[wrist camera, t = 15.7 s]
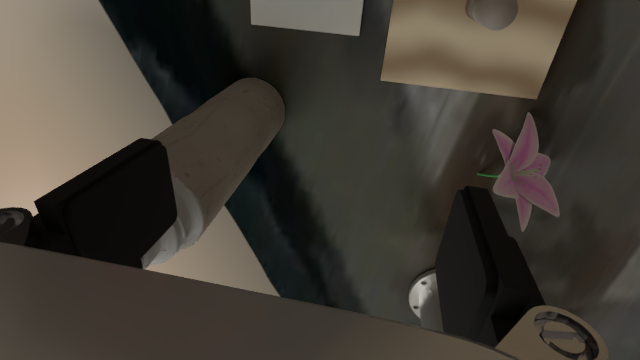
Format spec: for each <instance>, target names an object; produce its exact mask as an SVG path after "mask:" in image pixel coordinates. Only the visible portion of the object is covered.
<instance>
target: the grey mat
mask: <svg viewBox="0 0 640 360" xmlns="http://www.w3.org/2000/svg"><path fill="white" fill-rule="evenodd" d="M363 2H364V0H251V24H252V25H261V26H271V27H280V28H289V29H299V30H308V31H317V32H326V33H336V34H345V35H354V36H359V35H360V26H361V18H362V10H363Z"/></svg>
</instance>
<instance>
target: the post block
mask: <svg viewBox="0 0 640 360" xmlns="http://www.w3.org/2000/svg"><path fill="white" fill-rule="evenodd" d="M576 1H577V0H393V6H392V12H391V18H390V25H389V31H388V37H387V43H386V49H385V55H384V61H383V67H382V74H381V80H382V81H390V82H398V83H406V84H414V85H423V86H431V87H439V88H447V89H455V90H464V91H472V92H480V93H488V94H496V95H505V96H513V97H521V98H529V99H537V97H538V94H539V92H540V90H541V87H542V85H543V82H544V80H545V77H546V75H547V72H548V70H549V67H550V65H551V63H552V60H553V58H554V55H555V53H556V50H557V48H558V45H559V43H560V41H561V38H562V36H563V33H564V31H565V28H566V26H567V23H568V21H569V18H570V16H571V14H572V11H573V9H574V6H575V4H576Z"/></svg>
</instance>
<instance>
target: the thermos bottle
mask: <svg viewBox="0 0 640 360" xmlns="http://www.w3.org/2000/svg"><path fill="white" fill-rule="evenodd" d="M284 120H285V106H284V103H283V100H282V98H281V96H280V94H279V93H278V92H277V90H276V89H275V88H274V87H273V86H271V85H270V84H269V83H267V82H265V81H263V80H261V79H257V78H244V79H241V80H238V81H236V82H235V83H233V84H232V85H230V86H229V87H228V88H226V89H225V90H223V91H222V92H220V93H219V94H217V95H216V96H214V97H213V98H211V99H210V100H208V101H207V102H206V103H204V104H203V105H202V106H200V107H199V108H198V109H197V110H195V111H194V112H193V113H192V114H190V115H188V116H186V117H184V118H182V119H180V120H179V121H177V122H176V123H175V124H173V125H172V126H170V127H169V128H167V129H166V130H164V131H163V132H161V133H160V134H158V135H157V136H155V137H154V138H152V139H151V140H158V141H160V142H161V143H162V145H163V146H165V147H166V150H167V154H168V160H169V166H170V172H171V178H172V183H173V189H174V195H175V201H176V207H177V219H176V221H175V223H174V224H173V225H172V226H171V227H170V228H169V229H168V230H167V231H166V232H165V234H164V235H163V236H162V237H161V238H160V239H159V240H158V241H157V242H156V243H155V244H154V245H153V246H152V247H151V248H150V250H149V251H148V252H147V253H146V254H145V255H144V256H143V257H142V258H141V259H140V260H139V261H138V262H137V263H136V264H135V266H134V268H139V269H144V270H145V269H146V268H147V267H148V266H149V265H154V264H160V263H164V262H166V261H167V260H169V259H170V258H171V257H172V256H173V255H175V253H177V252H179V251H180V250H181V249H185V248H188V247H190V246H191V245H193V244H194V243H195V242H196V241H197V240H198V239H199V238H200V237H201V235H202V234H203V232H204V231H205V230H206V228H207V227H208V226H209V225H210V223H211V222H212V220H213V219H214V218H215V216H216V215H217V214H218V212H219V211H220V210H221V208H222V207H223V206H224V204H225V203H226V202H227V200H228V199H229V197H230V196H231V195H232V193H233V192H234V191H235V189H236V188H237V187H238V185H239V184H240V183H241V181H242V180H243V179H244V177H245V176H246V174H247V173H248V172H249V170H250V169H251V168H252V166H253V165H254V163H255V161H256V160H257V158H258V157H259V156H260V154H261V153H262V152H263V151H264V150H265V149H266V147H267V146H268V145H269V143H270V142H271V141H272V139H273V138H274V137H275V135H276V134H277V133H278V131H279V130H280V128H281V127H282V125H283V122H284Z"/></svg>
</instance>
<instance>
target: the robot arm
mask: <svg viewBox="0 0 640 360" xmlns="http://www.w3.org/2000/svg"><path fill="white" fill-rule="evenodd" d="M34 203H35V205H36V208H37V210H38V212H39V213H38V214H37V215H35V216H34V217H33V216H32V214H31V212H30V211H28V210H27V209H24V208H15V207H11V208H3V209H0V360H608V356H609V353H608V350H607V347H606V344H605V343H604V341H603V340H602V338H601V337H600V335H599V334H598V333H597V332H596V331H595V330H594V329H593V328H592V327H591V326H590V325H589V324H587V323H586V322H585V321H583V320H582V319H580V318H579V317H577V316H575V315H574V314H572V313H570V312H568V311H566V310H563V309H560V308H557V307H552V306H546V304H545V302H544V300H543V298H542V296H541V294H540V291H539V289H538V287H537V285H536V283H535V281H534V278H533V276H532V274H531V272H530V270H529V268H528V266H527V263H526V261H525V259H524V257H523V255H522V253H521V250H520V248H519V246H518V244H517V242H516V240H515V239H514V238H513V237H510V236H508V234H507V232H506V229H505V227H504V225H503V223H502V220H501V218H500V216H499V214H498V211H497V209H496V207H495V205H494V202H493V200H492V198H491V195H490V193H489V191H488V189H485V188H478V187H472V186H466V187H465V188H464V190H458V191H457V192H456V195H455V199H454V202H453V205H452V208H451V212H450V215H449V218H448V221H447V225H446V228H445V231H444V234H443V238H442V241H441V244H440V248H439V251H438V254H437V257H436V262H435V269H433V270H430V271H427V272H425V273H423V274H422V275H420V276H419V277H418V278H416V279H415V281H414V282H413V283H412V285H411V287H410V289H409V303H410V307H411V308H412V310H413V312H414V313H415V314H416V315H417V316H418V317H419V318H420V319H421V327H420V326H416V325H412V324H407V323H403V322H399V321H394V320H389V319H384V318H379V317H375V316H370V315H365V314H360V313H355V312H351V311H346V310H341V309H336V308H331V307H327V306H322V305H317V304H312V303H307V302H302V301H298V300H293V299H288V298H283V297H278V296H273V295H268V294H263V293H258V292H253V291H248V290H243V289H238V288H234V287H229V286H224V285H219V284H214V283H209V282H204V281H199V280H194V279H188V278H184V277H179V276H174V275H169V274H164V273H159V272H154V271H149V270H144V269H139V268H134V266H135V264H136V263H137V262H138V261H139V260H140V259H141V258H142V257H143V256H144V255H145V254H146V253H147V252H148V251H149V250H150V248H151V247H152V246H153V245H154V244H155V243H156V242H157V241H158V240H159V239H160V238H161V237H162V236H163V235H164V234H165V232H166V231H167V230H168V229H169V228H170V227H171V226H172V225H173V224H174V223H175V221H176V219H177V207H176V201H175V195H174V189H173V183H172V178H171V172H170V166H169V160H168V154H167V150H166V147H165V146H163V145H162V143H161V142H160V141H158V140H151V139H144V138H140V139H138V140H136V141H135V142H133V143H131V144H130V145H128V146H126V147H125V148H123V149H121V150H120V151H118V152H116V153H114V154H113V155H111V156H109V157H108V158H106V159H104V160H103V161H101V162H99V163H98V164H96V165H94V166H93V167H91V168H89V169H88V170H86V171H84V172H83V173H81V174H79V175H78V176H76V177H74V178H73V179H71V180H69V181H68V182H66V183H64V184H62V185H61V186H59V187H58V188H56V189H54V190H52V191H51V192H49V193H47V194H46V195H44V196H42V197H41V198H39V199H37V200H36V201H34Z"/></svg>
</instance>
